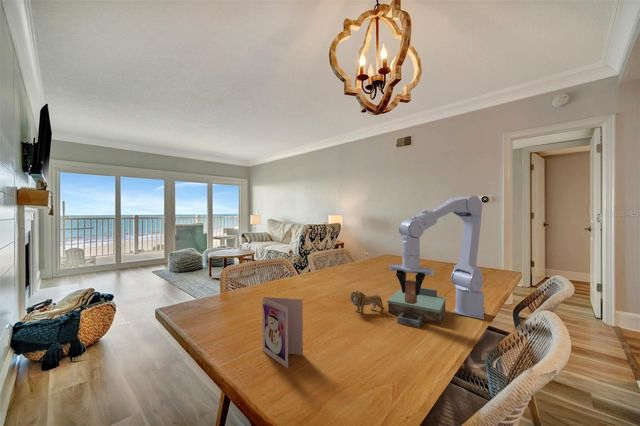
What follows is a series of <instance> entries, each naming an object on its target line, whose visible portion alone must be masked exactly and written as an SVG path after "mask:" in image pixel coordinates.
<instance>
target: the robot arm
mask: <svg viewBox="0 0 640 426" xmlns="http://www.w3.org/2000/svg"><path fill="white" fill-rule="evenodd" d="M483 205H484V203H483V201H482V200H481V199H480V198H479V197H478V196H477V195H470V196H453V197H451V198H448V199H447V200H446V201H445V202H443V203H442V204H440V205H439V206H437V207H435V208H434V209H432V210H431V209H423V210H421V213H419V214H417V215H414V216H411V219H406V220H403V221H402V222H401V223H400V224H399V227H398V232H399V234H400V235H401V243H402V247H401V248H402V249H401V252H402V253H401V255H402V256H401V259H402V261H401V262H402V263H401V264H389V266H388V267H389V268H388V269H389V271H391V272H393V271H394V272H395V271H396V273H395V276H396V277H397V280H398V282H399V284H400V288H401V290H402V293H405V281H406V280H407V273H410V274H415V281H416V295H419V293H420V288H422V284H423V282H424V279H425V278H426V276H430V277H433V276H434V274H435V273H434V272H435V270H434V268H429V267H423V266H421V265H420V256H421V254H420V253H421V252H420V251H421V250H420V245H421V244H420V243H421V241H420V240H421V239H420V238H421V237H422V235H423V234H424V231H426V230H428V229H429V228H431V227H433V226H435V225H436V224H438V220H439V219H440V218H442V217H444V216H446V215H448V214H451V213H453V214H454V215H455V216H457V217H459V218H460V219H461V220H462V221H463V232H462V239H461V250H460V259H459V262H458V263H456V264H455V265H454V266H453V271H452V272H451V275H450V280H451V283H452V284H453V285H454V288H455V306H454V310H453V314H455V315H459V316H460V315H461V316H465V317H470V318H476V319H481V320H484V316H485V315H484V313H486V308H485V305H484V303H485V302H484V301H485V294H484V293H485V292H484V291H481V290H482V288H483V286H484V278H483V271H482V269H480V267H479V266H478V265H477V260H478V251H479V244H480V243H479V242H480V233H481V225H482V213H483Z"/></svg>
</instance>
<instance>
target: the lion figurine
mask: <svg viewBox="0 0 640 426" xmlns="http://www.w3.org/2000/svg"><path fill="white" fill-rule="evenodd" d="M349 300H350V302H351V303H352V305H354V306H355V307H356V308H357V309H356V311H355V312H356V313H359V315H361V316H363V315H364V310H365V309H364V308H365V306H369V305H372V306H373V307H372V308H370V311H375V309H376V308H377V307H378V308H379V309H380V311H379V313H381V314H383V313H384V310H385V309H386V308H385V307H384V306H383V300H382V297H381V296H380V295H378V294H375V293H373V294H368V295H366V294H365V293H363V292H361V291H359V290H351V291H350V294H349Z"/></svg>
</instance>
